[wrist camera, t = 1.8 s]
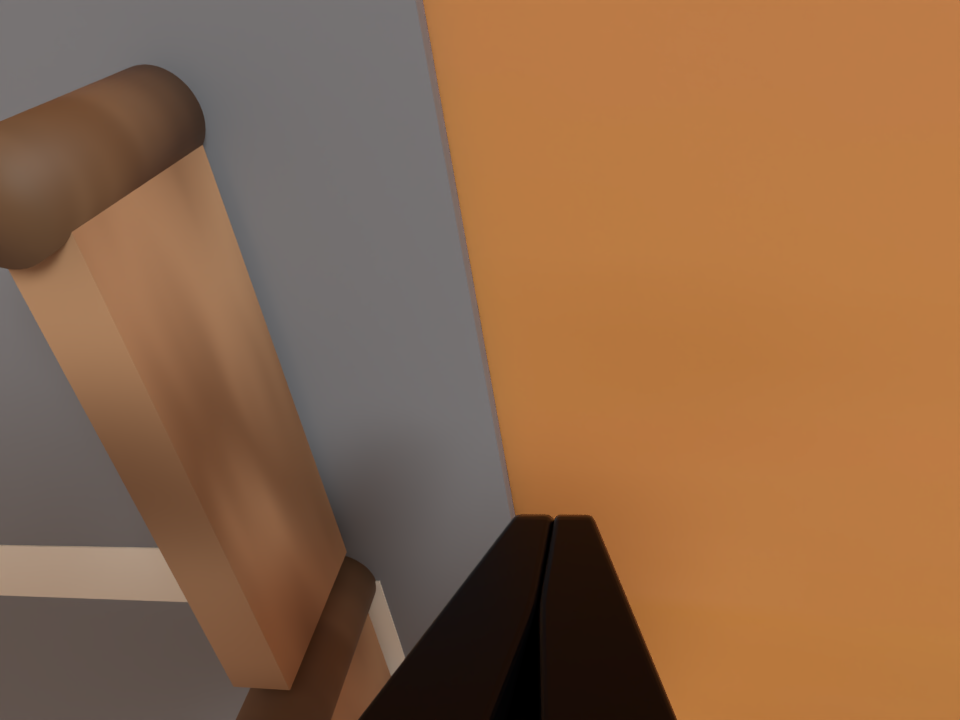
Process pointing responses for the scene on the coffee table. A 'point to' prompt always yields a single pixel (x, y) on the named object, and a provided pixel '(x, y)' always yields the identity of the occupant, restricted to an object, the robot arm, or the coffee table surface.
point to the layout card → (293, 329)
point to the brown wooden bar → (172, 357)
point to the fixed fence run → (332, 660)
